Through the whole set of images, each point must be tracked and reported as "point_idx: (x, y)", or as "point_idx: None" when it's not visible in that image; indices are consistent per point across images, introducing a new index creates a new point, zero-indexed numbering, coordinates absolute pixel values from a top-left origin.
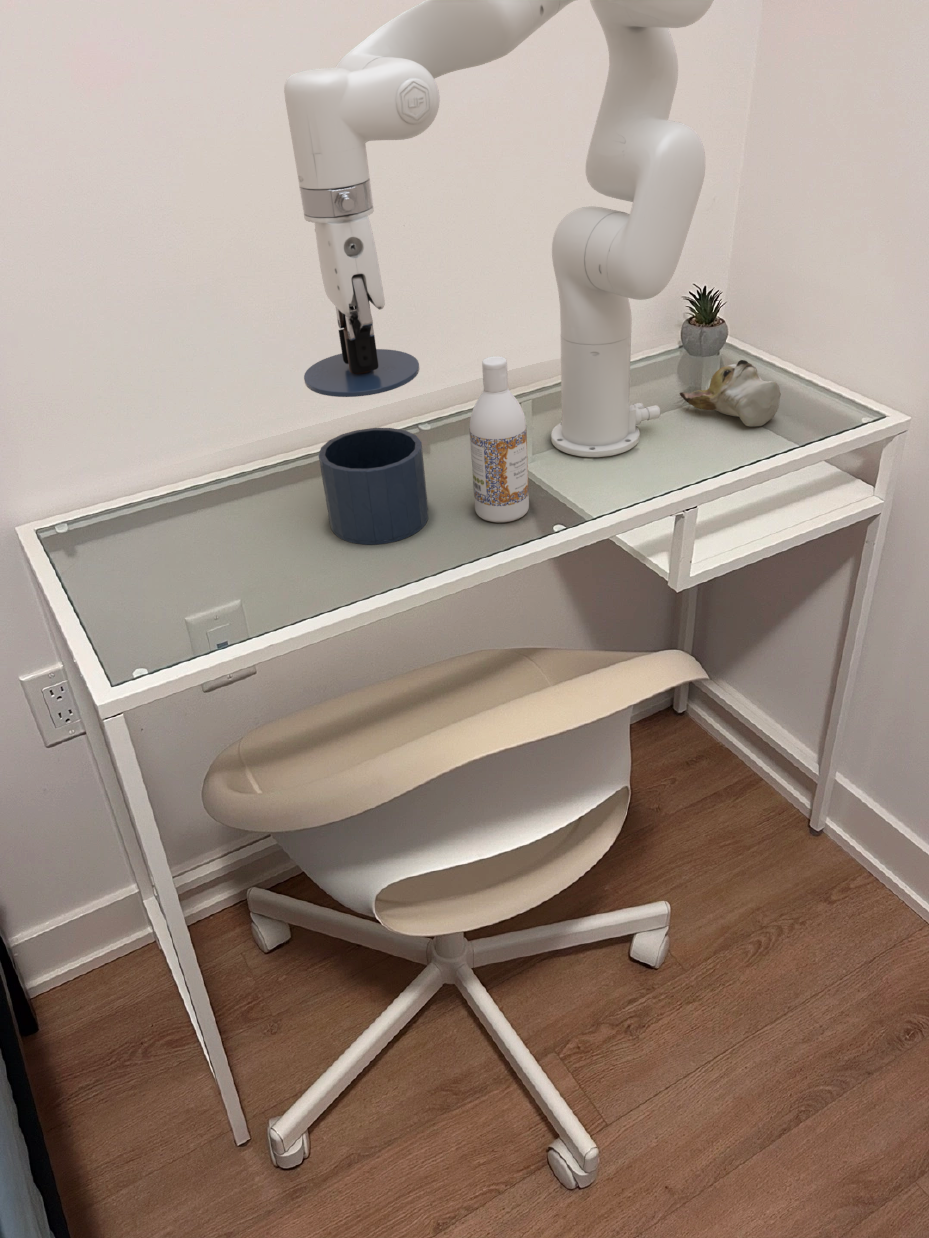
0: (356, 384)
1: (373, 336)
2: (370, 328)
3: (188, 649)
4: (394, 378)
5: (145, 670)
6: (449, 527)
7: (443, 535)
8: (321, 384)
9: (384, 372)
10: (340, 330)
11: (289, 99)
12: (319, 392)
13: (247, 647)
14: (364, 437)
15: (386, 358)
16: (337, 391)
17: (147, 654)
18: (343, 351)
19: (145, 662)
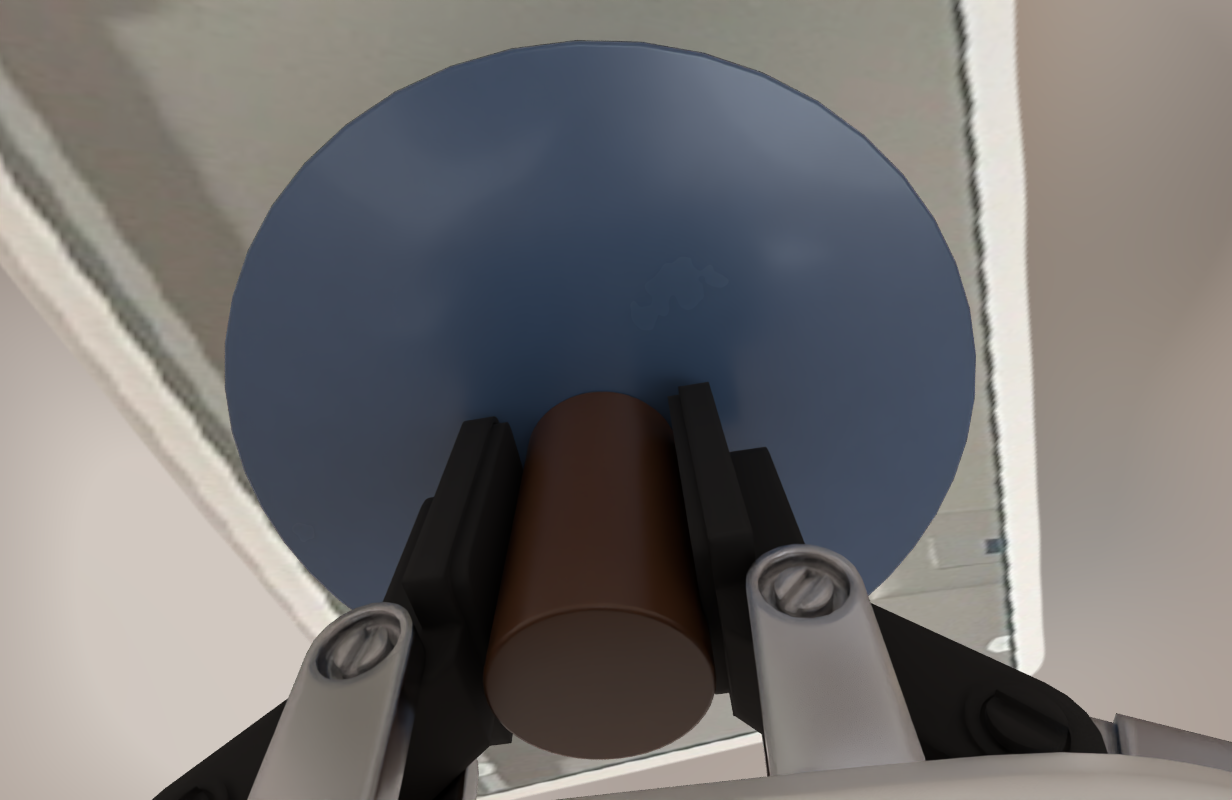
0: (835, 496)
1: (814, 548)
2: (1024, 678)
3: (975, 591)
4: (867, 278)
5: (999, 639)
6: (722, 9)
7: (764, 39)
8: None
9: (719, 331)
10: (495, 738)
11: None
12: None
13: (1026, 510)
14: None
15: (442, 290)
16: (879, 582)
17: (954, 639)
18: None
19: (976, 640)
